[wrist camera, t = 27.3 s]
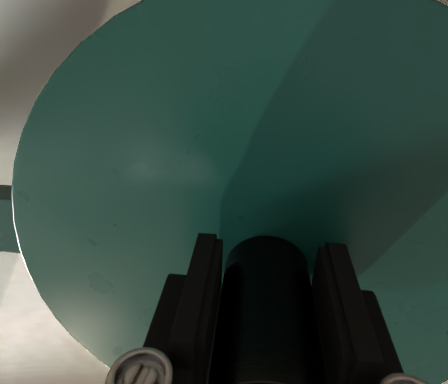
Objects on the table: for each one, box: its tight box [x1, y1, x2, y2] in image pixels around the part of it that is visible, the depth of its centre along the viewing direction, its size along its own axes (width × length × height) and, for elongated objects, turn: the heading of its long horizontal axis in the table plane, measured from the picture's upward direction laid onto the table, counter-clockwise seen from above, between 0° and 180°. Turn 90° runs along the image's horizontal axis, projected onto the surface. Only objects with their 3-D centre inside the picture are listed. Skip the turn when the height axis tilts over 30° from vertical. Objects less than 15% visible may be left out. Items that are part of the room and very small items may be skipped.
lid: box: [11, 0, 448, 384], centre depth 10 cm, size 16×16×6 cm
